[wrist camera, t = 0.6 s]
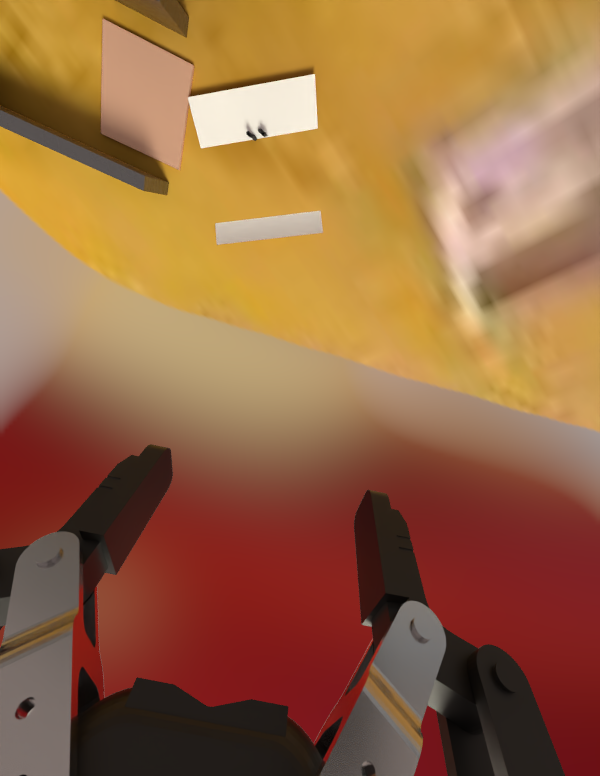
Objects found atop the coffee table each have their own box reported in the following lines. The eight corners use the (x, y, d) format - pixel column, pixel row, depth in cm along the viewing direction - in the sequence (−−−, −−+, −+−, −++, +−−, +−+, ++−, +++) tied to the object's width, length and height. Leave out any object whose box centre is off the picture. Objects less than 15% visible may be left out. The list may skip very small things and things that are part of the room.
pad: (105, 20, 24) (102, 18, 24) (194, 66, 25) (193, 64, 25) (102, 134, 28) (100, 133, 28) (180, 170, 29) (178, 169, 29)
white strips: (315, 81, 26) (314, 70, 24) (323, 232, 31) (323, 232, 30) (191, 103, 27) (182, 95, 25) (220, 244, 33) (214, 244, 31)
